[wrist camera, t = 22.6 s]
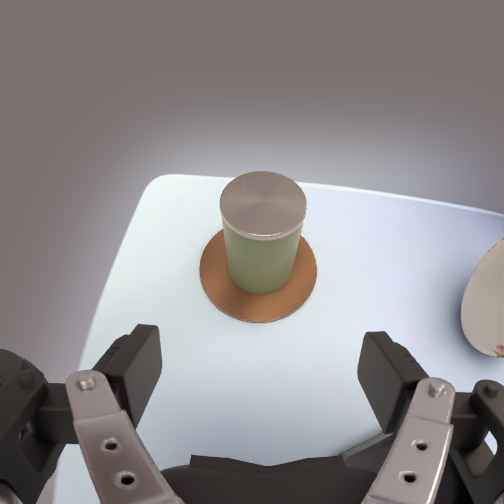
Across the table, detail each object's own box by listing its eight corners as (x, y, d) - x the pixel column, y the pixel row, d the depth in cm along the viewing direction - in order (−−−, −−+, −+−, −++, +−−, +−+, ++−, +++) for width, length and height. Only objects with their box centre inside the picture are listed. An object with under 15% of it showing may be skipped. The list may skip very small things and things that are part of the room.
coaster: (185, 308, 27) (185, 306, 27) (217, 214, 33) (216, 211, 33) (308, 332, 26) (309, 331, 26) (320, 231, 32) (321, 228, 32)
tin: (220, 288, 28) (209, 227, 20) (235, 234, 31) (231, 166, 24) (287, 301, 27) (302, 243, 20) (296, 244, 31) (310, 178, 23)
